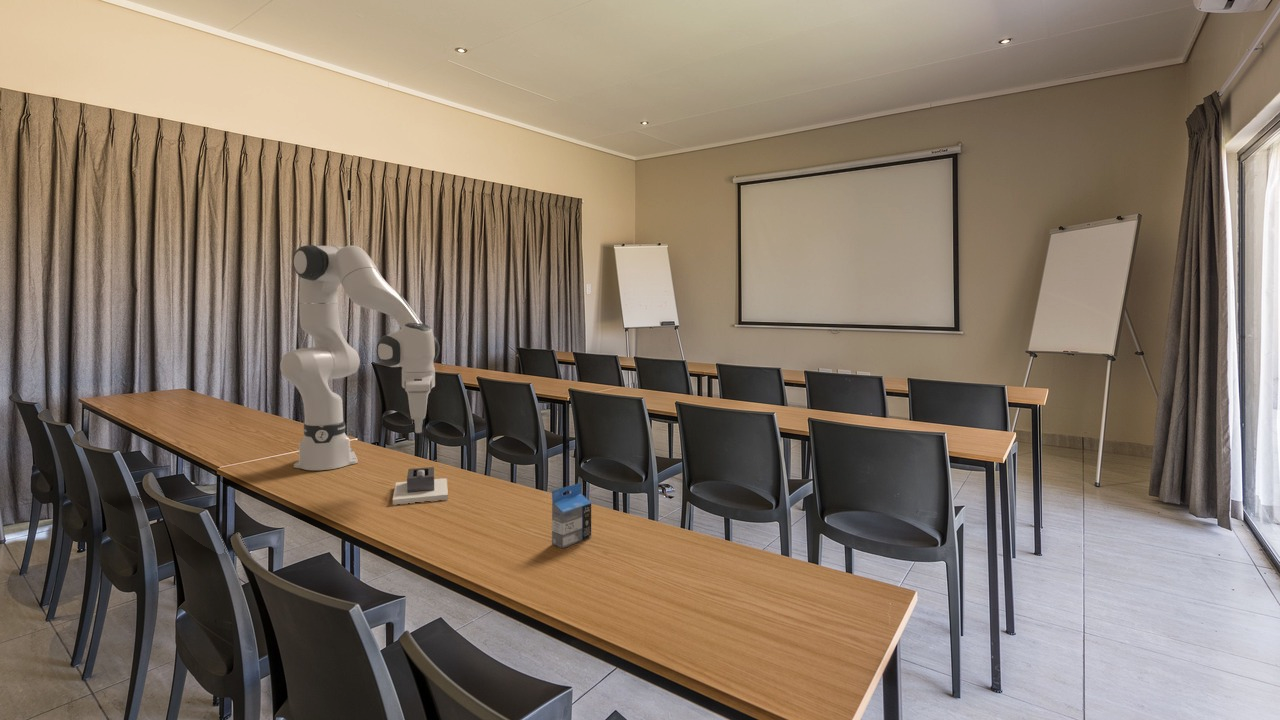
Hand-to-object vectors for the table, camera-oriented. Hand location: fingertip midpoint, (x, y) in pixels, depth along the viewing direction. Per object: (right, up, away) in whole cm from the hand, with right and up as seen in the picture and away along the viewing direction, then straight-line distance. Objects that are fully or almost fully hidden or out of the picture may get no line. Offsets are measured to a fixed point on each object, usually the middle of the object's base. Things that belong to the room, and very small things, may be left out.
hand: (419, 428), depth 172 cm
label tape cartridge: (+48, -22, -35) cm, 63 cm away
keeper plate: (+2, -18, -2) cm, 18 cm away
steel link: (+1, -16, -1) cm, 16 cm away
